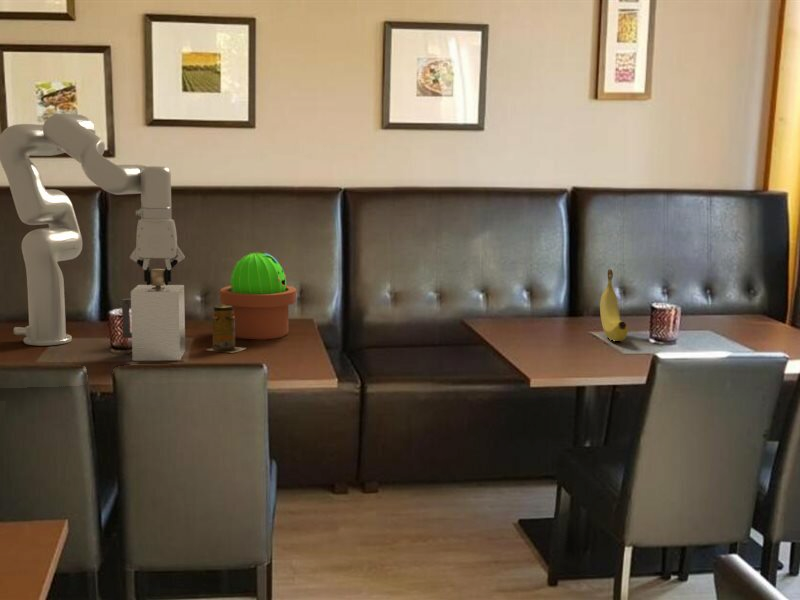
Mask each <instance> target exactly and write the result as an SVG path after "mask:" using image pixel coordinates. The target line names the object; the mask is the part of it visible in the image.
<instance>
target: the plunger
mask: <svg viewBox="0 0 800 600" xmlns="http://www.w3.org/2000/svg"><path fill="white" fill-rule="evenodd" d="M150 269H151V268H150ZM165 270H166V268H152V269H151V284H150V285H152V286H155V289H161V286H163V285H165Z"/></svg>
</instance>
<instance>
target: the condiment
mask: <svg viewBox="0 0 800 600" xmlns="http://www.w3.org/2000/svg"><path fill="white" fill-rule="evenodd" d="M243 350H247V347H239V346H236V338H235V317H234V312H233V306H229V305H225V304H220V305H215V306H214V307H213V316H212V348H207V349H206V351H209V352H220V353H221V352H222V353H230V354H233V353H237V352H241V351H243Z"/></svg>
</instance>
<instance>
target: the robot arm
mask: <svg viewBox="0 0 800 600" xmlns="http://www.w3.org/2000/svg"><path fill="white" fill-rule="evenodd" d="M105 146H106V145H105V142H104V140H103V139H102V138H101V137H99V135H97V134H96V128H95V125H94V123H93V122H92V120H90V119H89V118H88V117H87V116H85V115H83V114H73V113H71V114H70V113H56V114H52V115H50V116H49V117H47V118H46V120H44V122H43V124H34V123H33V124H32V123H30V124H29V123H18V124H13V125H10V126H8V127H7V128H5V129H4V130H3V131H2V132H1V134H0V164H1V167H2V170H3V171H4V173H5V176H6V178H7V182H8V185H9V190H10V193H11V195H12V196H11V197H12V199H13V203H14V206H15V209H16V213H17V216H18V218H19V219H20V221H21V222H22V223H24V224H25V225H29V226H38V225H48V227H45V228H37V229H34V230H30V232H28V233H27V234H26V235H25V236H24V237H23V239H22V241H21V252H22V255H23V256H22V257H23V261H24V264H25V271H26V273H25V274H26V286H27V307H28V325H27V326H25V327H22V326H21V327H20V326H19V327H18V326H15V327H14V328H13V334H14V335H16V336H22V335H24V336H26V337H24V338H23V343H24V344H26V345H28V346H29V345H30V346H38V347H39V346H43V347H45V346H58V345H65V344H68V343H70V342H71V341H72V340H73V338H72V337H73V336H72V335H70V334H68V333H67V331H66V329H67V326H66V303H65V301H66V299H65V283H64V281H65V280H64V275H63V271H62V270H61V268H60V266H59V264H58V262H63V261H69V260H74V259H76V258H77V257H78V256H79V255H80V254H81V253H82V250H83V238H82V233H81V231H80V225H79V223H78V219H77V216H76V212H75V209H74V206H73V203H72V200H71V199H70V198H69V196H68V195H67V194H66V193H65V192H64V191H61V190H59V189H46V188H45V186H44V183H43V180H42V175H41V173H40V171H39V169H38V167H37V166H36V165H35V164H34V163H33V161H32V160H31V159H30V157H31V156H33V157H36V156H37V157H38V156H39V157H40V156H41V157H44V156H45V157H46V156H47V157H49V156H56V155H57V156H58V155H62V154H64V153H65V154H66V155H68V156H69V157H71V158H72V159H73V160H75V161H76V162H78V163H79V164H80V165H81V169H82V171H83V173H84V174H85V176H86V177H87V179H89V180H90V182H92V183H93V184H95V185H96V186H97V187H99V188H101V189H102V190H104V191H105V192H107V193H109V194H112V195H117V196H119V195H136V194H137V195H138V194H139V195H140V202H141V203H140V205H141V207H140V208H139V209H136V210H135V216H140V219H138V221H137V227H136V238H135V239H136V240H135V243H136V246H135V248H134V250H132V252H131V254H130V256H129V259H130V260H131V261H133V262H135V263H137V265H139V266H140V268H142V270H143V275H144V278H143V279H144V280H143V281H144V282H145V283H146V285H151V267H150V261H151V260H164V262H165V266H166V267H165V285H170V283H171V282H172V269H173V268H174V267H175V266H176V265H177V264H178V263H181V262H182V261H183V260H184V259H185V258H186V257H185V255H184V253H183V252H182V250H181V248H180V247H179V246H178V236H177V235H178V234H177V228H176V223H175V220H174V219H172V178H171V177H172V174H171V170H170V169H169V168H168V167H167V166H160V165H159V166H156V165H154V166H147V165H143V164H142V165H141V164H115V163H113V162H112V161H110V159H108V158H106V157H105V156H103V155H104V153H105V148H106V147H105ZM176 256H177V257H176ZM175 257H176V258H175ZM172 259H173V260H172Z"/></svg>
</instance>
